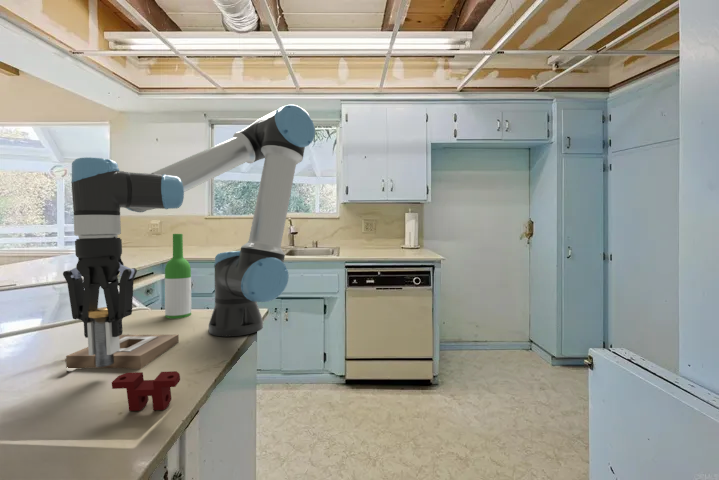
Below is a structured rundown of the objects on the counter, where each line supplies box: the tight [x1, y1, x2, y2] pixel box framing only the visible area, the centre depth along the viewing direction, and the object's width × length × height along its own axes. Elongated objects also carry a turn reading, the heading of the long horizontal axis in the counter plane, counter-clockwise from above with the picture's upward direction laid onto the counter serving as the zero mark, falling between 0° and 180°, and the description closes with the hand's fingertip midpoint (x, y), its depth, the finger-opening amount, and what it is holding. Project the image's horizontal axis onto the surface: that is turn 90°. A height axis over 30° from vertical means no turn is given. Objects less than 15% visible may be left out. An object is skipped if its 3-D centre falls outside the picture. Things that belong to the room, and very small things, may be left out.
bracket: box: [110, 370, 181, 412], centre depth 59 cm, size 3×6×10 cm
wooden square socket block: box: [65, 333, 180, 370], centre depth 83 cm, size 16×16×4 cm
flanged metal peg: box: [88, 306, 114, 367], centre depth 71 cm, size 5×5×11 cm
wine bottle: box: [164, 233, 192, 319], centre depth 116 cm, size 8×8×30 cm
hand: (104, 352), depth 71 cm, fingers closed on flanged metal peg, 3 cm apart
